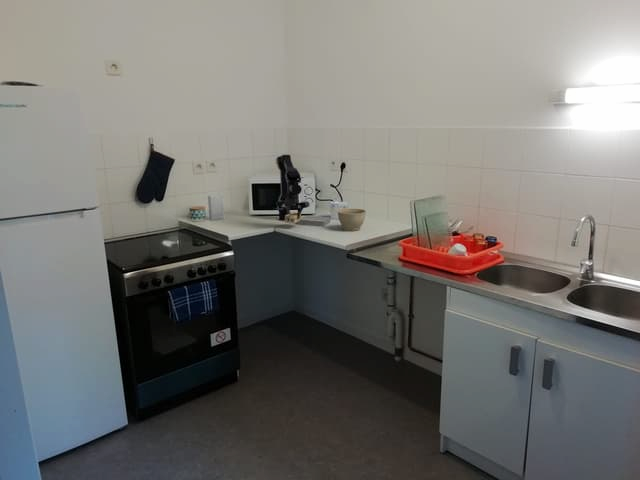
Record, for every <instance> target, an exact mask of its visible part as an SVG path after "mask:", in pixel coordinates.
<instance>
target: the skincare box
mask: <svg viewBox="0 0 640 480" xmlns="http://www.w3.org/2000/svg"><path fill="white" fill-rule="evenodd" d="M223 196H224V195H222V194H220V193H219V194H218V193H216V194H208V195H207V200H208V201H207V203H208V217H209V220H211V222H212V221H219V220H224V219H225V215H224V214H225V213H224V197H223Z"/></svg>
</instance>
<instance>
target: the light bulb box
mask: <svg viewBox="0 0 640 480" xmlns="http://www.w3.org/2000/svg"><path fill="white" fill-rule="evenodd" d="M341 209H348V201H331V202H330V220H339V217H338V210H341Z"/></svg>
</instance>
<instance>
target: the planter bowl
mask: <svg viewBox="0 0 640 480" xmlns="http://www.w3.org/2000/svg"><path fill="white" fill-rule="evenodd" d="M366 214H367V211H366V210H365V209H362V208H347V209H341V210H338V217H339V219H338V221H339V222H340V225H341V226H342V227H343V230H344V231H347V232H348V231H349V232H353V231H354V232H355V231H356V232H357V231H359V230H361V227H362V226H363V224H364V222H365V219H366Z"/></svg>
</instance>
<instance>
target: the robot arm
mask: <svg viewBox="0 0 640 480" xmlns="http://www.w3.org/2000/svg"><path fill="white" fill-rule="evenodd" d="M275 159H276V160H275V163H276V166H277V168H278V170H279V175H280V176H279V177H280V180H279V181H280V195H279V196H278V201H277V202H276V210H277V211H278V219H277V220H278V221H285V215H287V214H290V213H291V211H292V210H293V206H296V207H297V208H296V209H297V212H296V213H297V218H298V219H299V217H300V214H302V211H303V209H306V208H309V207H310V202H309V201H304V200H303V201H300V202H299V200H298V196H299V194H301V193H302V190H303V189H302V186H301V185H300V183H301V182H302V179H301V178H302V177H301V174H300V172H299V171H298V169H297V168H296V167H294V164H293V162H292V157H291V154H282V155H281V156H278V157H276V158H275Z"/></svg>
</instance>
